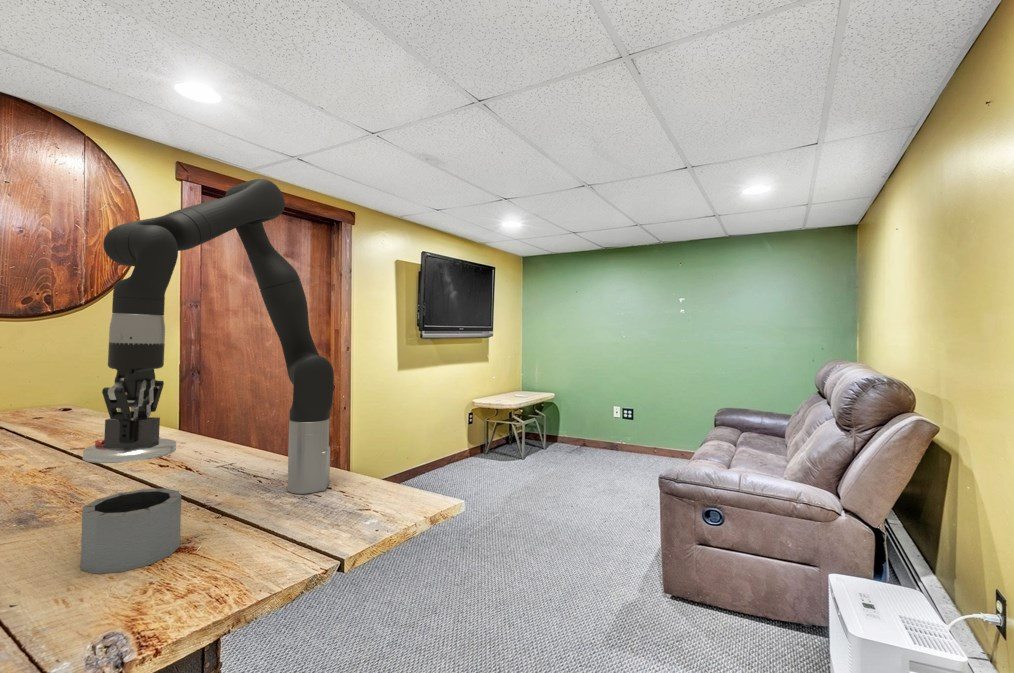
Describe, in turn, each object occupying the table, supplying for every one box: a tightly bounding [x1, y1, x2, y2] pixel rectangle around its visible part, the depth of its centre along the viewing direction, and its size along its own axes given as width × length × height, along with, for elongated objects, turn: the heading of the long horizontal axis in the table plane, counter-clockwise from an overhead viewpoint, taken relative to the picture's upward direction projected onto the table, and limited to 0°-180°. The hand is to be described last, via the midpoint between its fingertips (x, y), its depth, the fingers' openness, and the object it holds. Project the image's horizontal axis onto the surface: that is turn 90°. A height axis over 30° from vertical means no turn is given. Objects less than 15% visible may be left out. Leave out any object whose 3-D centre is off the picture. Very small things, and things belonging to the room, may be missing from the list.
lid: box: [82, 416, 177, 464], centre depth 79 cm, size 12×12×6 cm
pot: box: [80, 487, 182, 575], centre depth 79 cm, size 13×13×9 cm
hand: (133, 440), depth 79 cm, fingers closed on lid, 2 cm apart
